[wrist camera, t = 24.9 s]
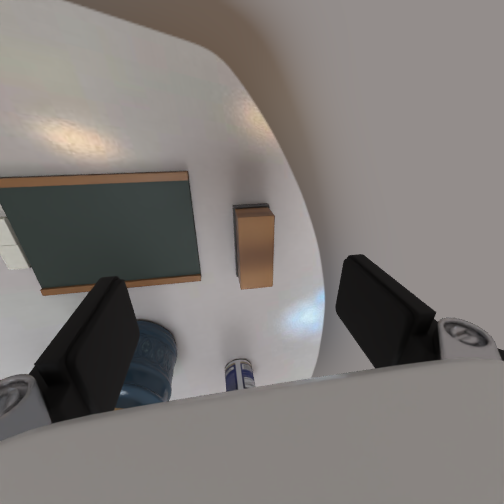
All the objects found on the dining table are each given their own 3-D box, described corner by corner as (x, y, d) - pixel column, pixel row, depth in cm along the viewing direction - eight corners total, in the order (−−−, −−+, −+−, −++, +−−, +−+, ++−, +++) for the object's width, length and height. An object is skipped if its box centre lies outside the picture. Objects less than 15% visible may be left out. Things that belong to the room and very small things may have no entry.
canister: (87, 362, 41) (13, 500, 26) (113, 307, 37) (44, 432, 22) (160, 379, 46) (135, 505, 30) (190, 332, 42) (178, 449, 26)
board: (-8, 177, 28) (-16, 179, 27) (187, 170, 30) (187, 172, 30) (47, 291, 35) (42, 295, 34) (201, 277, 38) (201, 280, 37)
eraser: (232, 205, 33) (236, 216, 29) (267, 203, 34) (276, 213, 30) (236, 273, 38) (239, 291, 34) (266, 270, 39) (274, 287, 34)
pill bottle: (226, 379, 49) (230, 432, 40) (222, 361, 47) (225, 413, 38) (252, 373, 50) (261, 424, 41) (250, 356, 47) (259, 406, 38)
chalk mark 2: (0, 243, 31) (-5, 246, 30) (21, 242, 31) (17, 244, 31) (12, 267, 33) (8, 270, 32) (33, 265, 33) (29, 268, 32)
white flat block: (-15, 217, 29) (-21, 220, 29) (8, 216, 30) (3, 218, 29) (-1, 243, 31) (-6, 246, 30) (20, 242, 31) (16, 244, 31)
